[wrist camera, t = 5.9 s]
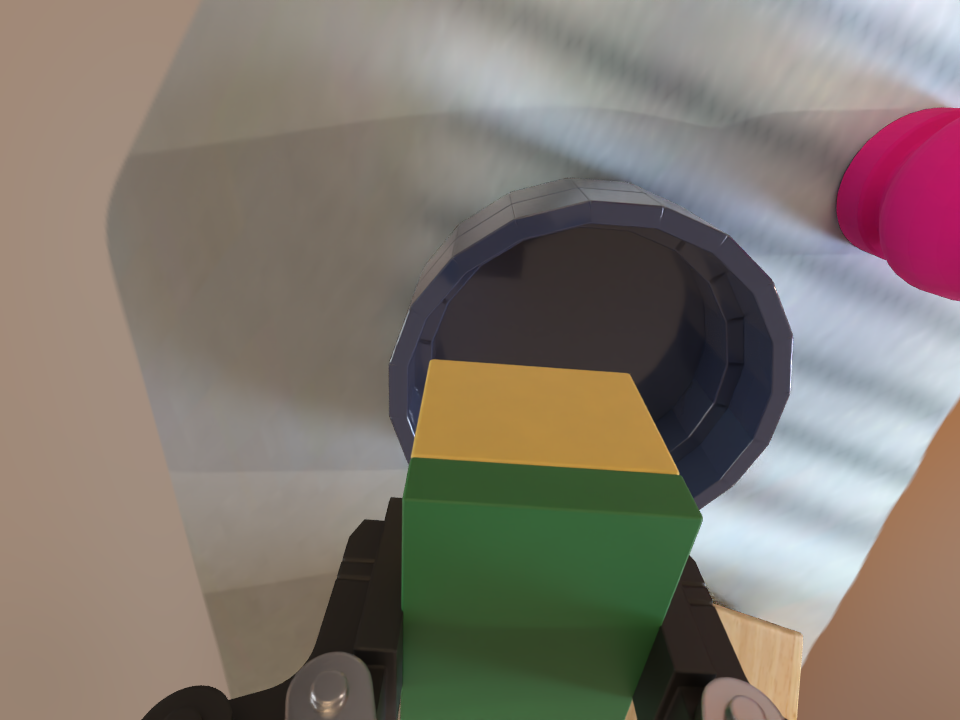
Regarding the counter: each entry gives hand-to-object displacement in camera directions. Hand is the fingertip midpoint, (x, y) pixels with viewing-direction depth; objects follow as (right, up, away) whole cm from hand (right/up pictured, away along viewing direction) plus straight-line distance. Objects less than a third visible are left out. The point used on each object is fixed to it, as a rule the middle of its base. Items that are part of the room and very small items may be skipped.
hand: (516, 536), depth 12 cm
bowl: (+4, +5, +15) cm, 16 cm away
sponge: (0, +1, +1) cm, 2 cm away
